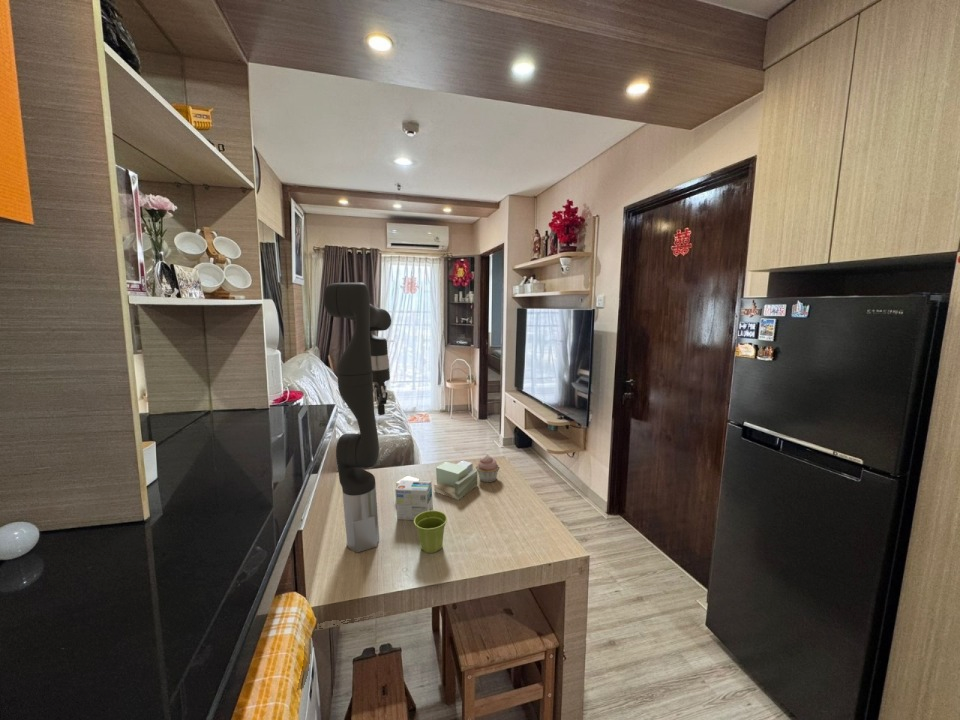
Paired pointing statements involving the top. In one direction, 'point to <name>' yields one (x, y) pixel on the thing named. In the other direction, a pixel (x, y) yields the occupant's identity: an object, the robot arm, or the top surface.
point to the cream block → (407, 480)
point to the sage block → (450, 473)
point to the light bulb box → (413, 498)
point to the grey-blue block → (466, 465)
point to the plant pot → (430, 530)
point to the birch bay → (458, 486)
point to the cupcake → (487, 469)
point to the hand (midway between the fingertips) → (381, 414)
